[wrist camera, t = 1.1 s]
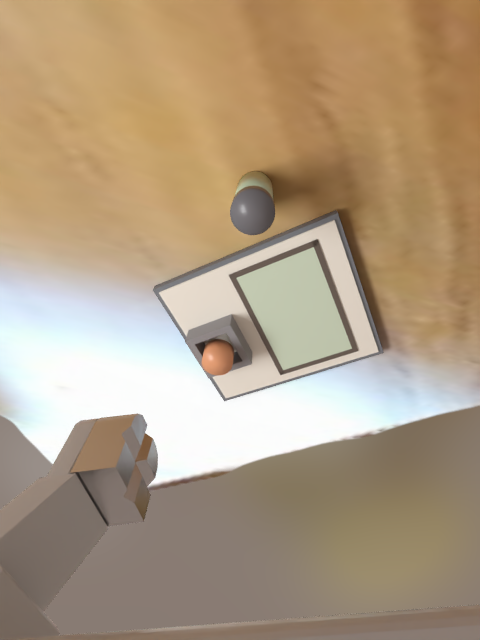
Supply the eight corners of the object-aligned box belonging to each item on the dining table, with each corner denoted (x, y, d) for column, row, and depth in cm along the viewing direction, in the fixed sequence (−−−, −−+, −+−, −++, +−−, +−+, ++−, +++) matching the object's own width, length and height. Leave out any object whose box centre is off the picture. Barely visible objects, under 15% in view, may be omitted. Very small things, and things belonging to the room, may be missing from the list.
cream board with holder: (336, 209, 36) (342, 220, 33) (381, 347, 45) (389, 366, 42) (155, 285, 42) (146, 300, 39) (224, 395, 50) (222, 415, 47)
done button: (225, 335, 41) (224, 346, 39) (238, 357, 43) (237, 370, 41) (199, 344, 42) (196, 356, 40) (212, 366, 44) (210, 378, 42)
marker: (264, 164, 35) (264, 182, 28) (278, 199, 36) (281, 224, 29) (230, 180, 36) (222, 201, 29) (245, 213, 37) (241, 241, 30)
